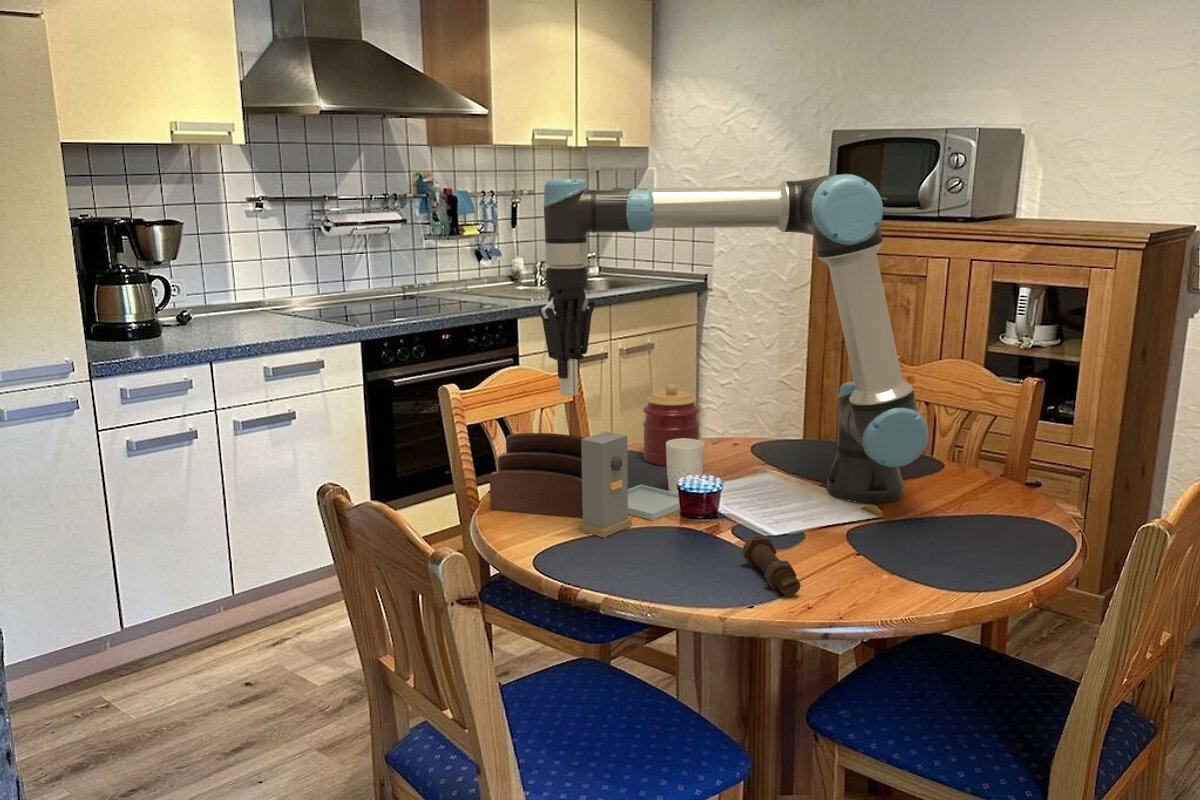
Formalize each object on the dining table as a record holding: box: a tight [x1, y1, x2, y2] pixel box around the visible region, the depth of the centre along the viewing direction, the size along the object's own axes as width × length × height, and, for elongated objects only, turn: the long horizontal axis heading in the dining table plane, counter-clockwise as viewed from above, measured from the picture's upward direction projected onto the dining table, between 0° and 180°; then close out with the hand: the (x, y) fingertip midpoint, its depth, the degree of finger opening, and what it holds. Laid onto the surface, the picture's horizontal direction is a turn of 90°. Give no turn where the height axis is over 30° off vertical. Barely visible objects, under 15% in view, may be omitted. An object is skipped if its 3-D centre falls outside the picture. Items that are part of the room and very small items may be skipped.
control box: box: [578, 431, 633, 538], centre depth 183 cm, size 6×8×18 cm
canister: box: [642, 383, 701, 467], centre depth 228 cm, size 13×13×18 cm
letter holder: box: [489, 432, 585, 519], centre depth 196 cm, size 10×20×14 cm, turn 73°
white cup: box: [666, 438, 705, 493], centre depth 206 cm, size 8×8×10 cm
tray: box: [628, 484, 680, 521], centre depth 197 cm, size 13×13×1 cm
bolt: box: [741, 535, 801, 597], centre depth 160 cm, size 6×5×15 cm
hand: (569, 394), depth 185 cm, fingers closed
